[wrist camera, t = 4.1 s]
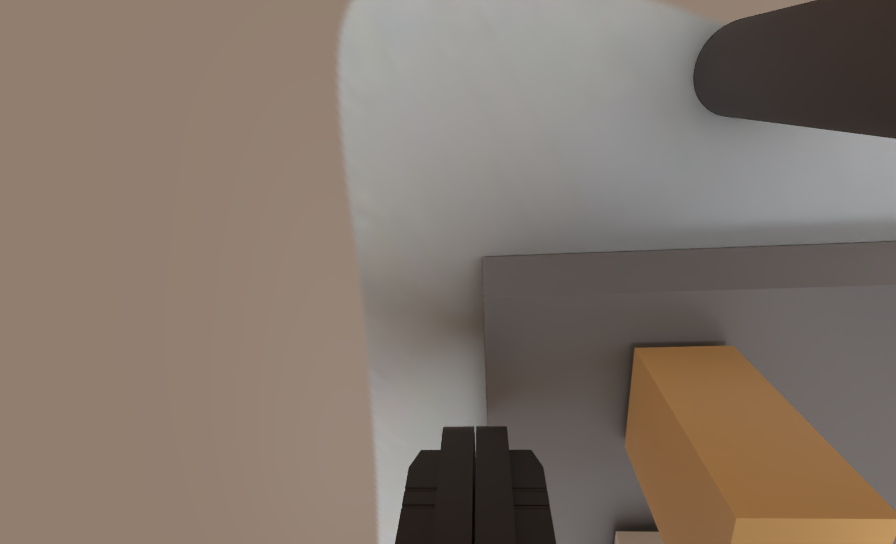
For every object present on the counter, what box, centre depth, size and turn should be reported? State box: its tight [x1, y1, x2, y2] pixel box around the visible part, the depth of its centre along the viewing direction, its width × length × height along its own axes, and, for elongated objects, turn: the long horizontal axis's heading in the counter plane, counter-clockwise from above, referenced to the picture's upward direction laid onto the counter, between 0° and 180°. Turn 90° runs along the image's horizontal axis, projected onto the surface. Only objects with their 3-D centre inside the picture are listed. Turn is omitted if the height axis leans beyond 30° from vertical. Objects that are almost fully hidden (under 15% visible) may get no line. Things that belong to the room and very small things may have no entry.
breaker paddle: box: [625, 346, 896, 544], centre depth 10 cm, size 2×3×5 cm
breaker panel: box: [482, 241, 896, 544], centre depth 15 cm, size 14×12×3 cm
